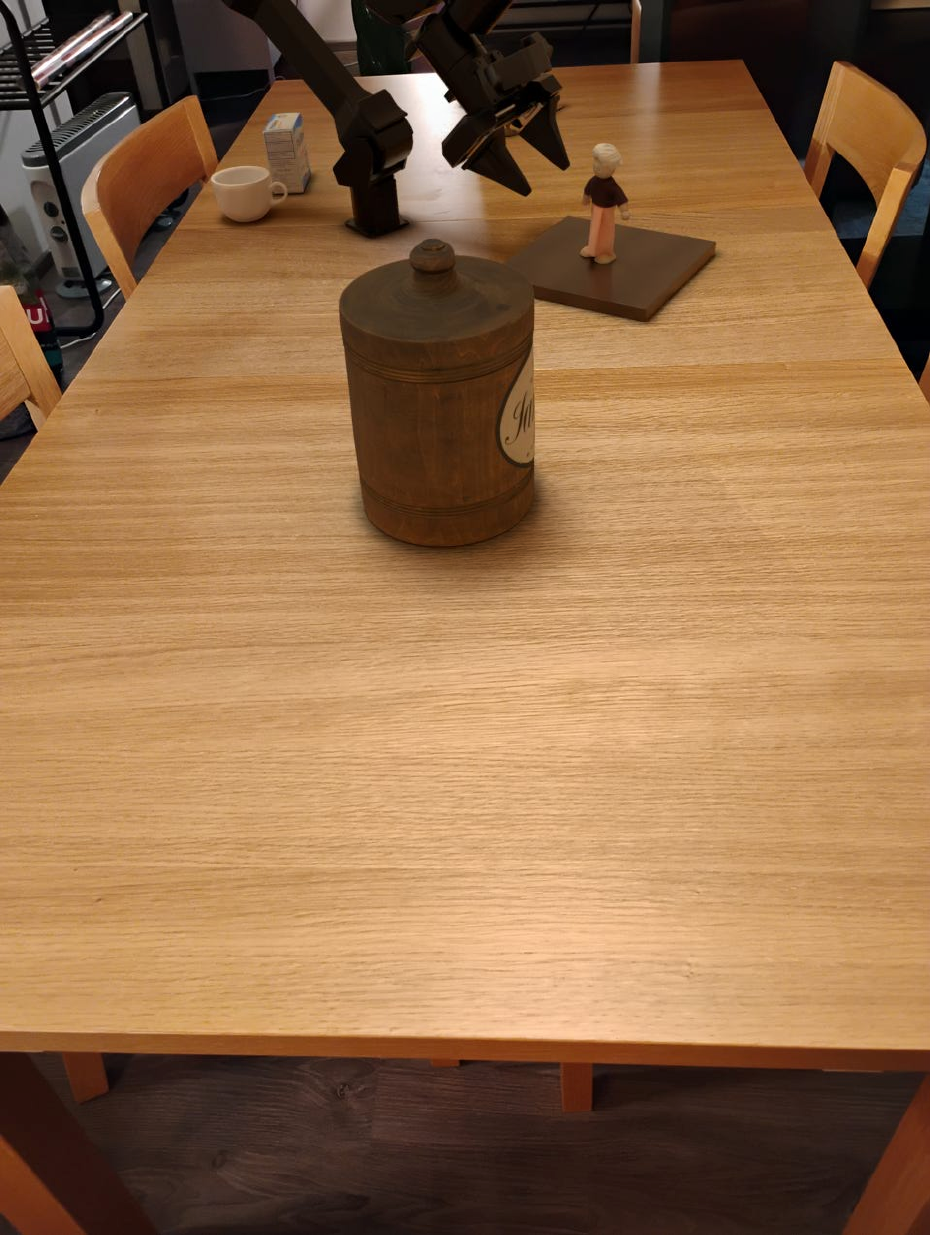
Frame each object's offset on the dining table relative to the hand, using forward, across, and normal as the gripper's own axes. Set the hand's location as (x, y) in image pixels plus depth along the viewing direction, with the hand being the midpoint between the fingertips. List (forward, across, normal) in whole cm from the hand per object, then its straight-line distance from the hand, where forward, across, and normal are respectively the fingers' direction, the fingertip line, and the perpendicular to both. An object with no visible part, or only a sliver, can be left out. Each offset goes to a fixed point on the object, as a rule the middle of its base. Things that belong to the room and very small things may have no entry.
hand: (548, 180), depth 115 cm
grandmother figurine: (+11, 0, 0) cm, 11 cm away
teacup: (-24, -4, +37) cm, 44 cm away
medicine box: (-26, +8, +40) cm, 48 cm away
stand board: (+12, 0, +1) cm, 12 cm away
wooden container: (+18, -47, -5) cm, 51 cm away
